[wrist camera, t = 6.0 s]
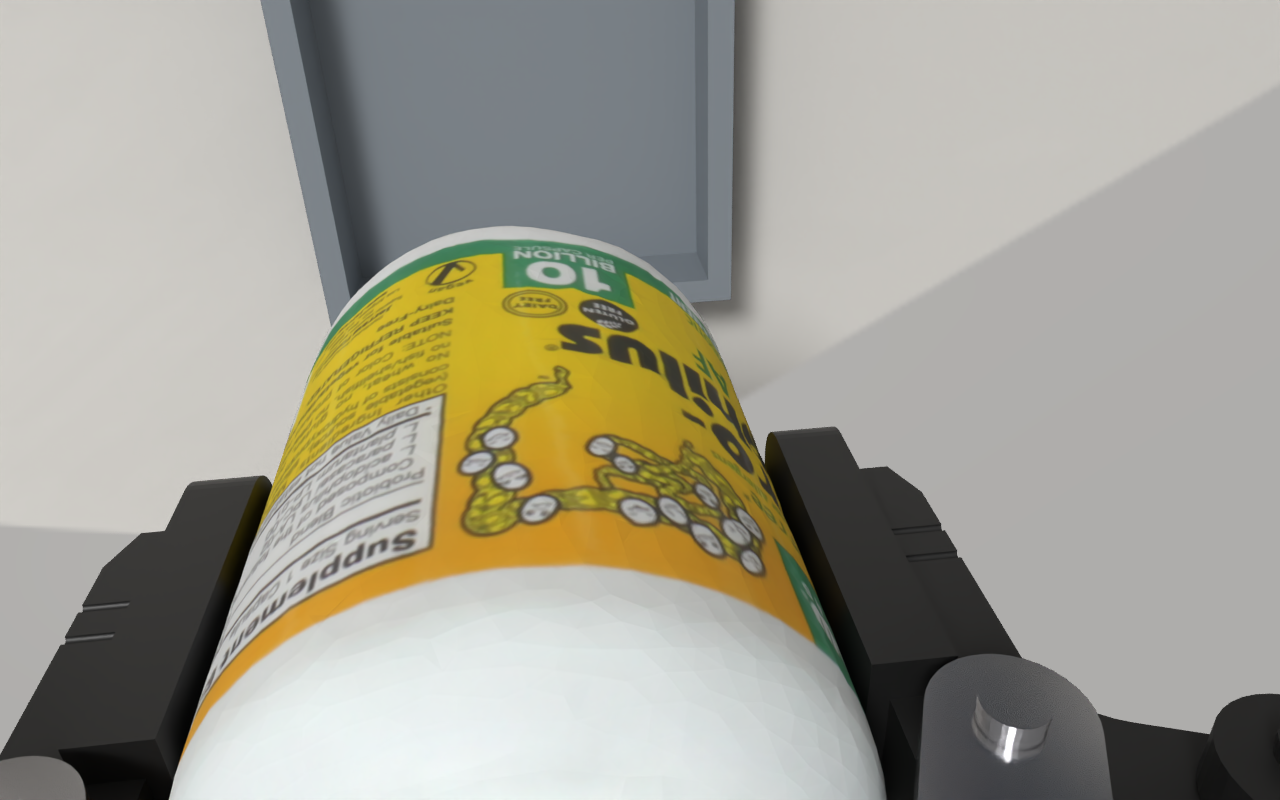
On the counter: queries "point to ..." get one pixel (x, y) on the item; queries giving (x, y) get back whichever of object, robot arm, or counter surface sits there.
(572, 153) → the tray
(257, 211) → the counter surface
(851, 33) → the counter surface
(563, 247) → the supplement bottle
